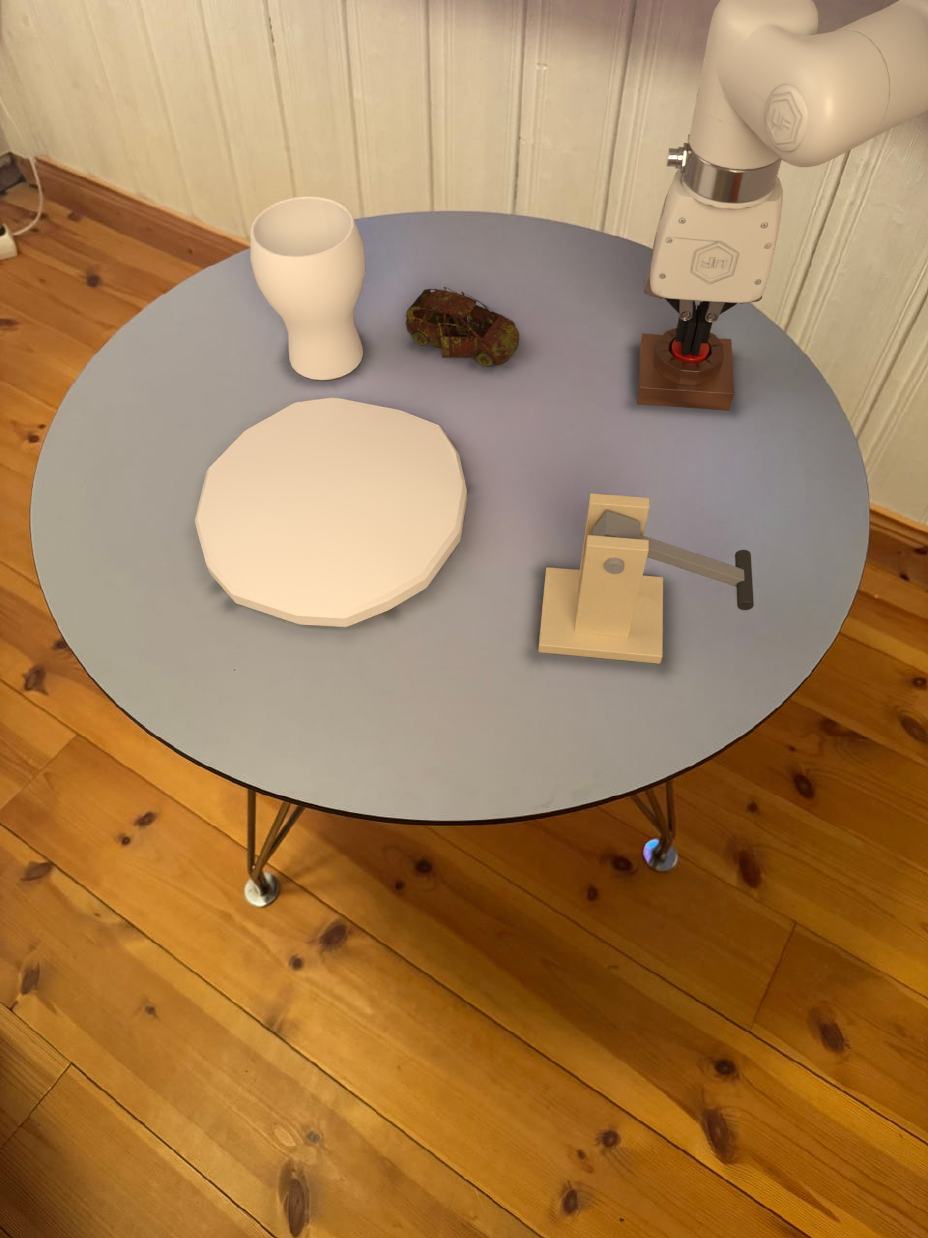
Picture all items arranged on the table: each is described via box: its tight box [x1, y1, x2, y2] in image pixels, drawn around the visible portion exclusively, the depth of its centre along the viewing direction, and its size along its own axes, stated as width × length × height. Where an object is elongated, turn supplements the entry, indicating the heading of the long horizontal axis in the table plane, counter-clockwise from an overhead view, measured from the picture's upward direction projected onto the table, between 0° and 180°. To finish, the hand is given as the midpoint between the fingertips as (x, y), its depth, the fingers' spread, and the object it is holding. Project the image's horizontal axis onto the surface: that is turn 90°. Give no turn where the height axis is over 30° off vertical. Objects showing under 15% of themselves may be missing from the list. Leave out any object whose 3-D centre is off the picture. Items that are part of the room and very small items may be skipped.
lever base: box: [537, 492, 664, 665], centre depth 72 cm, size 10×8×13 cm
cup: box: [249, 195, 367, 381], centre depth 91 cm, size 11×11×15 cm
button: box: [670, 339, 709, 363], centre depth 91 cm, size 4×4×2 cm
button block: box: [637, 327, 735, 411], centre depth 92 cm, size 9×8×4 cm
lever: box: [593, 511, 755, 611], centre depth 70 cm, size 13×5×2 cm, turn 83°
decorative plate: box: [194, 397, 468, 628], centre depth 83 cm, size 25×4×25 cm
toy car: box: [405, 286, 520, 368], centre depth 95 cm, size 12×7×5 cm, turn 63°
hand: (689, 345), depth 90 cm, fingers closed
